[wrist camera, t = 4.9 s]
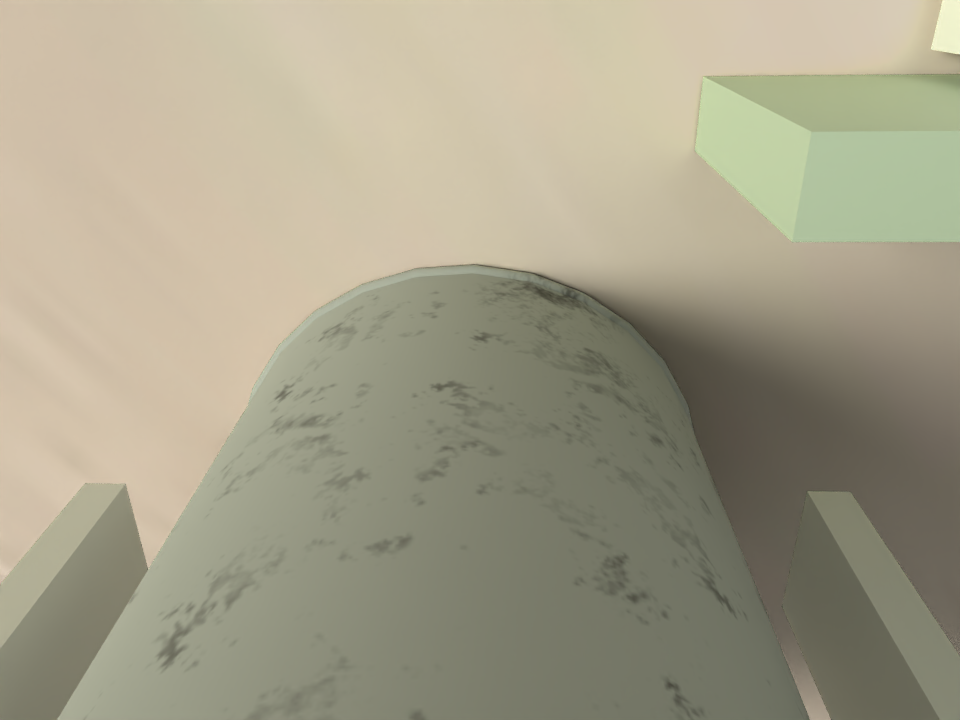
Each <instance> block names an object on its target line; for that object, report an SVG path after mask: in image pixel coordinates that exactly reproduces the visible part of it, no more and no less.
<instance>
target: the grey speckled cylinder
mask: <svg viewBox="0 0 960 720" xmlns="http://www.w3.org/2000/svg"><path fill="white" fill-rule="evenodd" d="M57 720H810V719H809V716H808V714H807V711H806V709H805V706H804V704H803V701H802V699H801V696H800V694H799V691H798V689H797V686H796V684H795V682H794V679H793V677H792V674H791V672H790V669H789V667H788V664H787V662H786V659H785V657H784V654H783V652H782V649H781V647H780V645H779V642H778V640H777V637H776V635H775V632H774V630H773V627H772V625H771V622H770V620H769V617H768V615H767V612H766V610H765V608H764V605H763V603H762V600H761V598H760V595H759V593H758V590H757V588H756V585H755V583H754V580H753V578H752V575H751V573H750V571H749V568H748V566H747V563H746V561H745V558H744V556H743V553H742V551H741V548H740V546H739V543H738V541H737V538H736V536H735V534H734V531H733V529H732V526H731V524H730V521H729V519H728V516H727V514H726V511H725V509H724V506H723V504H722V502H721V499H720V497H719V494H718V492H717V489H716V487H715V484H714V482H713V479H712V477H711V474H710V472H709V469H708V467H707V465H706V462H705V460H704V457H703V455H702V452H701V450H700V447H699V445H698V442H697V440H696V437H695V434H694V429H693V425H692V421H691V416H690V412H689V407H688V405H687V402H686V400H685V399H684V397H683V395H682V393H681V391H680V389H679V387H678V385H677V384H676V382H675V380H674V378H673V376H672V374H671V372H670V371H669V369H668V367H667V365H666V363H665V361H664V360H663V359H662V358H661V357H660V356H659V355H658V353H657V352H656V351H655V350H654V349H653V348H652V347H651V346H650V345H649V344H648V343H647V342H646V340H645V339H644V338H643V337H642V336H641V335H640V334H639V333H638V332H637V331H636V330H635V329H634V327H633V326H632V325H631V324H630V323H628V322H627V321H625V320H624V319H622V318H621V317H619V316H618V315H616V314H615V313H613V312H612V311H610V310H609V309H607V308H606V307H604V306H603V305H601V304H600V303H598V302H597V301H595V300H594V299H592V298H591V297H589V296H588V295H586V294H585V293H582V292H580V291H577V290H574V289H572V288H569V287H567V286H564V285H561V284H559V283H556V282H553V281H551V280H548V279H545V278H543V277H540V276H537V275H535V274H532V273H527V272H520V271H513V270H507V269H500V268H493V267H486V266H480V265H460V266H445V267H430V268H416V269H412V270H409V271H405V272H402V273H399V274H395V275H392V276H388V277H385V278H381V279H378V280H375V281H371V282H368V283H364V284H361V285H360V286H358V287H356V288H354V289H353V290H351V291H349V292H347V293H345V294H344V295H342V296H340V297H338V298H337V299H335V300H333V301H331V302H329V303H328V304H326V305H324V306H322V307H321V308H319V309H317V310H315V311H314V312H313V313H312V314H311V315H310V316H309V317H308V318H307V319H306V320H305V321H304V322H303V323H302V324H301V325H300V326H299V327H297V328H296V329H295V330H294V331H293V332H292V333H291V334H290V335H289V336H288V337H287V338H286V339H285V340H284V341H283V342H282V343H281V344H280V345H279V346H278V348H277V349H276V351H275V353H274V354H273V356H272V357H271V359H270V361H269V362H268V364H267V366H266V367H265V369H264V370H263V372H262V374H261V375H260V377H259V379H258V380H257V382H256V384H255V385H254V387H253V389H252V393H251V396H250V400H249V403H248V406H247V408H246V409H245V411H244V413H243V414H242V416H241V418H240V419H239V421H238V423H237V424H236V426H235V427H234V429H233V431H232V432H231V434H230V436H229V437H228V439H227V441H226V442H225V444H224V446H223V447H222V449H221V450H220V452H219V454H218V455H217V457H216V459H215V460H214V462H213V464H212V465H211V467H210V469H209V470H208V472H207V474H206V475H205V477H204V478H203V480H202V482H201V483H200V485H199V487H198V488H197V490H196V492H195V493H194V495H193V497H192V498H191V500H190V502H189V503H188V505H187V506H186V508H185V510H184V511H183V513H182V515H181V516H180V518H179V520H178V521H177V523H176V525H175V526H174V528H173V530H172V531H171V533H170V534H169V536H168V538H167V539H166V541H165V543H164V544H163V546H162V548H161V549H160V551H159V553H158V554H157V556H156V558H155V559H154V561H153V562H152V564H151V566H150V567H149V569H148V571H147V572H146V574H145V576H144V577H143V579H142V581H141V582H140V584H139V586H138V587H137V589H136V590H135V592H134V594H133V595H132V597H131V599H130V600H129V602H128V604H127V605H126V607H125V609H124V610H123V612H122V613H121V615H120V617H119V618H118V620H117V622H116V623H115V625H114V627H113V628H112V630H111V632H110V633H109V635H108V637H107V638H106V640H105V641H104V643H103V645H102V646H101V648H100V650H99V651H98V653H97V655H96V656H95V658H94V660H93V661H92V663H91V665H90V666H89V668H88V669H87V671H86V673H85V674H84V676H83V678H82V679H81V681H80V683H79V684H78V686H77V688H76V689H75V691H74V693H73V694H72V696H71V697H70V699H69V701H68V702H67V704H66V706H65V707H64V709H63V711H62V712H61V714H60V716H59V717H58V719H57Z"/></svg>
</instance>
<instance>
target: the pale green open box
mask: <svg viewBox="0 0 960 720" xmlns="http://www.w3.org/2000/svg"><path fill="white" fill-rule="evenodd" d="M695 152H696V153H697V154H698V155H700V156H701V157H702V158H703V159H704V160H705V161H706V162H707V163H708V164H709V165H710V166H711V167H712V168H713V169H715V170H716V171H717V172H718V173H719V174H720V175H721V176H722V177H723V178H724V179H725V180H726V181H727V182H728V183H729V184H731V185H732V186H733V187H734V188H735V189H736V190H737V191H738V192H739V193H740V194H741V195H742V196H743V197H744V198H745V199H747V200H748V201H749V202H750V203H751V204H752V205H753V206H754V207H755V208H756V209H757V210H758V211H759V212H760V213H762V214H763V215H764V216H765V217H766V218H767V219H768V220H769V221H770V222H771V223H772V224H773V225H774V226H775V227H776V228H778V229H779V230H780V231H781V232H782V233H783V234H784V235H785V236H786V237H787V238H788V239H789V240H790V241H791V242H960V74H919V75H800V76H703V83H702V92H701V101H700V109H699V118H698V127H697V136H696V145H695Z"/></svg>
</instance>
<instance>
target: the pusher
mask: <svg viewBox="0 0 960 720" xmlns="http://www.w3.org/2000/svg"><path fill="white" fill-rule="evenodd" d="M931 50H937V51H943V52H949V53H954V54H960V0H943V1H942V5H941V9H940V13H939V18H938V22H937V26H936V31H935V35H934V39H933V43H932V48H931Z"/></svg>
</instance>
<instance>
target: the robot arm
mask: <svg viewBox="0 0 960 720" xmlns="http://www.w3.org/2000/svg"><path fill="white" fill-rule="evenodd" d="M147 571H148V567H147V563H146V559H145V556H144V552H143V548H142V544H141V541H140V537H139V533H138V529H137V525H136V522H135V518H134V514H133V510H132V507H131V503H130V499H129V495H128V491H127V488H126V484H91V483H85V484H84V485H83V486H82V488H81V489H80V490H79V491H78V492H77V494H76V495H75V496H74V497H73V498H72V500H71V501H70V502H69V503H68V504H67V506H66V507H65V508H64V509H63V510H62V511H61V513H60V514H59V515H58V516H57V517H56V519H55V520H54V521H53V522H52V523H51V525H50V526H49V527H48V528H47V529H46V531H45V532H44V533H43V534H42V535H41V536H40V538H39V539H38V540H37V541H36V542H35V544H34V545H33V546H32V547H31V548H30V550H29V551H28V552H27V553H26V554H25V556H24V557H23V558H22V559H21V560H20V561H19V563H18V564H17V565H16V566H15V567H14V569H13V570H12V571H11V572H10V573H9V575H8V576H7V577H6V578H5V579H4V581H3V582H2V583H1V584H0V720H57V719H58V717H59V716H60V714H61V712H62V711H63V709H64V707H65V706H66V704H67V702H68V701H69V699H70V697H71V696H72V694H73V693H74V691H75V689H76V688H77V686H78V684H79V683H80V681H81V679H82V678H83V676H84V674H85V673H86V671H87V669H88V668H89V666H90V665H91V663H92V661H93V660H94V658H95V656H96V655H97V653H98V651H99V650H100V648H101V646H102V645H103V643H104V641H105V640H106V638H107V637H108V635H109V633H110V632H111V630H112V628H113V627H114V625H115V623H116V622H117V620H118V618H119V617H120V615H121V613H122V612H123V610H124V609H125V607H126V605H127V604H128V602H129V600H130V599H131V597H132V595H133V594H134V592H135V590H136V589H137V587H138V586H139V584H140V582H141V581H142V579H143V577H144V576H145V574H146V572H147ZM782 608H783V610H784V612H785V614H786V617H787V619H788V621H789V624H790V626H791V628H792V631H793V633H794V635H795V637H796V640H797V642H798V644H799V647H800V649H801V651H802V654H803V656H804V658H805V660H806V663H807V665H808V667H809V670H810V672H811V674H812V677H813V679H814V681H815V683H816V686H817V688H818V690H819V693H820V695H821V697H822V700H823V702H824V704H825V706H826V709H827V711H828V713H829V716H830V718H831V720H960V656H959V654H958V653H957V651H956V650H955V648H954V647H953V645H952V644H951V642H950V641H949V639H948V638H947V636H946V635H945V633H944V632H943V630H942V629H941V627H940V626H939V624H938V623H937V621H936V620H935V618H934V617H933V615H932V614H931V612H930V611H929V609H928V608H927V606H926V605H925V603H924V602H923V600H922V599H921V597H920V596H919V594H918V593H917V591H916V590H915V588H914V587H913V585H912V584H911V582H910V581H909V579H908V578H907V576H906V575H905V573H904V572H903V570H902V569H901V567H900V566H899V564H898V563H897V561H896V560H895V558H894V557H893V555H892V554H891V552H890V551H889V549H888V548H887V546H886V545H885V543H884V541H883V540H882V538H881V537H880V535H879V534H878V532H877V531H876V529H875V528H874V526H873V525H872V523H871V522H870V520H869V519H868V517H867V516H866V514H865V513H864V511H863V510H862V508H861V507H860V505H859V504H858V502H857V501H856V499H855V498H854V496H853V495H852V493H851V492H834V491H807V494H806V499H805V503H804V508H803V512H802V517H801V522H800V526H799V531H798V535H797V540H796V544H795V549H794V554H793V558H792V563H791V567H790V572H789V577H788V581H787V586H786V590H785V595H784V599H783V604H782Z"/></svg>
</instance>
